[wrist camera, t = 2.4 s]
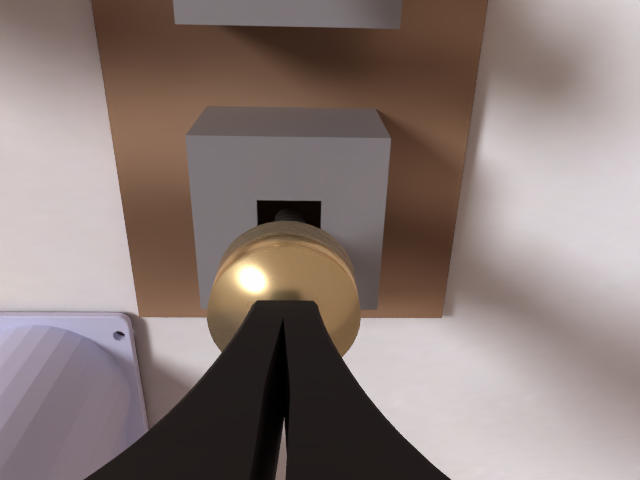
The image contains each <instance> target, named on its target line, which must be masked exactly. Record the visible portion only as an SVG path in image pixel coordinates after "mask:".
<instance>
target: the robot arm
mask: <svg viewBox="0 0 640 480" xmlns="http://www.w3.org/2000/svg"><path fill="white" fill-rule="evenodd" d="M116 331H120V332H122V333H124V336H122V335H119V334H117V332H116ZM284 418H285V434H286V449H287V465H286V480H451V479H450V478H448V477H447V476H446V475H445V474H444V473H442V472H441V471H440V470H439V469H437V468H436V467H435V466H434V465H433V464H432V463H430V462H429V461H428V460H427V459H426V458H425V457H424V456H423V455H422V454H421V453H420V452H419V451H418V450H417V449H416V448H415V447H414V446H413V445H411V444H410V443H409V442H408V441H407V440H406V439H405V438H404V437H403V436H402V435H401V434H400V433H399V432H398V431H397V430H396V429H395V427H394V426H393V425H392V424H391V423H390V422H389V421H388V420H387V419H386V418H385V417H384V415H383V414H382V413H381V412H380V411H379V409H378V408H377V407H376V406H375V405H374V403H373V402H372V401H371V400H370V398H369V397H368V396H367V394H366V393H365V392H364V390H363V389H362V388H361V386H360V385H359V383H358V382H357V380H356V379H355V378H354V376H353V375H352V373H351V372H350V370H349V369H348V367H347V365H346V364H345V362H344V361H343V359H342V357H341V355H340V354H339V352H338V350H337V348H336V347H335V345H334V343H333V341H332V339H331V337H330V335H329V333H328V331H327V329H326V327H325V325H324V322H323V320H322V317H321V315H320V311H319V308H318V305H317V304H316V303H315V302H314V301H305V300H257V301H256V302H255V303H254V304H252V306H251V308H250V310H249V312H248V314H247V316H246V317H245V319H244V321H243V322H242V324H241V326H240V327H239V329H238V330H237V332H236V333H235V335H234V336H233V338H232V339H231V341H230V342H229V343H228V345H227V346H226V347H225V349H224V350H223V352H222V353H221V354H220V356H219V357H218V358H217V360H216V361H215V362H214V363H213V365H212V366H211V367H210V368H209V369H208V371H207V372H206V373H205V374H204V375H203V377H202V378H201V379H200V380H199V381H198V383H197V384H196V385H195V386H194V387H193V388H192V389H191V390H190V391H189V392H188V394H187V395H186V396H185V397H184V398H183V399H182V400H181V401H180V402H179V403H178V404H177V405H176V406H175V407H174V408H173V409H172V410H171V411H170V412H169V413H168V414H167V415H166V416H164V417H163V418H162V419H161V420H160V421H159V422H158V423H157V424H155V425H154V426H153V427H152V428H151V429H150V430H149V428H148V422H147V415H146V409H145V403H144V397H143V391H142V384H141V378H140V372H139V366H138V360H137V353H136V347H135V341H134V335H133V328H132V322H131V320H130V318H129V317H128V316H127V315H126V314H124V313H119V312H0V480H275V477H276V470H277V463H278V457H279V450H280V443H281V436H282V429H283V422H284Z"/></svg>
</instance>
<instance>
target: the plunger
mask: <svg viewBox="0 0 640 480" xmlns="http://www.w3.org/2000/svg"><path fill="white" fill-rule="evenodd" d="M257 300H305V301H314V302H315V303H316V304H317V305H318V308H319V311H320V315H321V317H322V320H323V322H324V325H325V327H326V329H327V331H328V333H329V335H330V337H331V339H332V341H333V343H334V345H335V347H336V348H337V350H338V352H339V354H340V355H341V357H343V356H344V354H345V353H346V352H347V351H348V350H349V348H350V347H351V345H352V344H353V342H354V340H355V338H356V336H357V333H358V330H359V327H360V320H361V311H360V305H359V299H358V293H357V287H356V281H355V275H354V269H353V266H352V263H351V260H350V258H349V256H348V254H347V253H346V251H345V250H344V248H343V247H342V246H341V245H340V244H339V243H338V241H337V240H335V239H334V238H333V237H332V236H331V235H329V234H328V233H326V232H324V231H323V230H321V229H319V228H317V227H314V226H312V225H309V224H305V219H304V216H303V214H302V213H301V212H300V211H298V210H297V209H294V208H285V209H282V210H281V211H279V212H278V213H277V215H276V216H275V220H274V222H269V223H265V224H262V225H258V226H256V227H254V228H251V229H249V230H248V231H246V232H244V233H243V234H241V235H240V236H239V237H237V238H236V239H235V240H234V241H233V242H232V243H231V244H230V245H229V247H228V248H227V249H226V251H225V252H224V254H223V256H222V258H221V260H220V263H219V267H218V270H217V273H216V277H215V280H214V284H213V287H212V290H211V294H210V297H209V301H208V306H207V322H208V327H209V330H210V333H211V336H212V338H213V340H214V342H215V344H216V345H217V346H218V348H219V349H220V351H221V352H223V350H224V349H225V347H226V346H227V345H228V343H229V342H230V341H231V339H232V338H233V336H234V335H235V333H236V332H237V330H238V329H239V327H240V326H241V324H242V322H243V321H244V319H245V317H246V316H247V314H248V312H249V310H250V308H251V306H252V304H254V303H255V302H256V301H257Z"/></svg>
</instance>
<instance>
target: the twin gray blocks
mask: <svg viewBox="0 0 640 480" xmlns="http://www.w3.org/2000/svg"><path fill="white" fill-rule="evenodd" d="M173 7H174V18H175V24H189V25H238V26H286V27H334V28H383V29H400V24H401V12H402V0H173ZM185 139H186V150H187V161H188V172H189V183H190V194H191V205H192V216H193V227H194V238H195V249H196V260H197V271H198V282H199V293H200V304H201V309H207V306H208V301H209V297H210V294H211V290H212V287H213V284H214V280H215V277H216V273H217V270H218V267H219V263H220V260H221V258H222V256H223V254H224V252H225V251H226V249H227V248H228V247H229V245H230V244H231V243H232V242H233V241H234V240H235V239H236V238H237V237H239V236H240V235H241V234H243V233H244V232H246V231H248V230H249V229H251V228H254V227H256V226H258V200H287V201H321V223H320V229H321V230H323V231H324V232H326V233H328V234H329V235H331V236H332V237H333V238H334V239H335V240H337V241H338V243H339V244H340V245H341V246H342V247H343V248H344V250H345V251H346V253H347V254H348V256H349V258H350V260H351V263H352V266H353V269H354V275H355V281H356V287H357V293H358V299H359V305H360V310H377V306H378V293H379V281H380V269H381V257H382V244H383V232H384V220H385V208H386V195H387V183H388V171H389V159H390V146H391V137H390V135H389V133H388V131H387V129H386V128H385V126H384V124H383V122H382V120H381V118H380V116H379V114H378V113H377V111H376V109H373V108H310V107H246V106H206V108H205V109H204V111H203V112H202V113H201V115H200V116H199V117H198V119H197V120H196V121H195V123H194V124H193V125H192V127H191V128H190V130H189V131H188V132H187V134H186V135H185Z"/></svg>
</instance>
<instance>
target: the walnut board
mask: <svg viewBox="0 0 640 480" xmlns="http://www.w3.org/2000/svg"><path fill="white" fill-rule="evenodd" d="M91 3H92V9H93V16H94V22H95V29H96V35H97V42H98V49H99V55H100V62H101V68H102V75H103V81H104V88H105V94H106V101H107V108H108V114H109V121H110V127H111V134H112V140H113V147H114V154H115V160H116V167H117V173H118V180H119V186H120V193H121V200H122V206H123V213H124V219H125V226H126V232H127V239H128V246H129V252H130V259H131V265H132V272H133V278H134V285H135V291H136V298H137V305H138V311H139V317H207V309H201V304H200V293H199V282H198V271H197V260H196V249H195V238H194V227H193V216H192V205H191V194H190V183H189V172H188V161H187V150H186V139H185V135H186V134H187V132H188V131H189V130H190V128H191V127H192V125H193V124H194V123H195V121H196V120H197V119H198V117H199V116H200V115H201V113H202V112H203V111H204V109H205V108H206V106H246V107H310V108H373V109H376V111H377V113H378V114H379V116H380V118H381V120H382V122H383V124H384V126H385V128H386V129H387V131H388V133H389V135H390V137H391V146H390V159H389V171H388V183H387V195H386V208H385V220H384V232H383V244H382V257H381V269H380V281H379V293H378V306H377V310H360V311H361V318H442V312H443V305H444V298H445V291H446V285H447V278H448V271H449V264H450V257H451V250H452V243H453V237H454V230H455V223H456V216H457V209H458V202H459V195H460V189H461V182H462V175H463V168H464V161H465V154H466V147H467V141H468V134H469V127H470V120H471V113H472V106H473V99H474V93H475V86H476V79H477V72H478V65H479V58H480V51H481V45H482V38H483V31H484V24H485V17H486V10H487V3H488V0H402V12H401V24H400V29H383V28H334V27H286V26H238V25H189V24H175V18H174V7H173V0H91ZM285 208H294V209H297V210H298V211H300V212H301V213H302V214H303V216H304V219H305V224H309V225H312V226H314V227H317V228H319V229H320V223H321V201H287V200H258V225H262V224H265V223H269V222H274V220H275V216H276V215H277V213H278V212H279V211H281V210H282V209H285Z"/></svg>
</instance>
